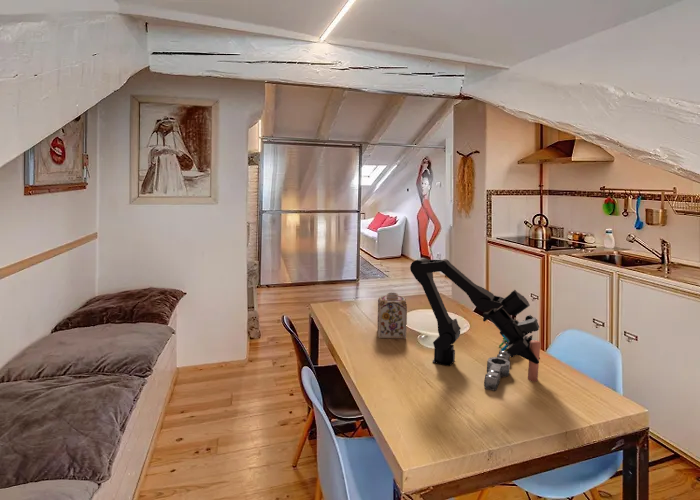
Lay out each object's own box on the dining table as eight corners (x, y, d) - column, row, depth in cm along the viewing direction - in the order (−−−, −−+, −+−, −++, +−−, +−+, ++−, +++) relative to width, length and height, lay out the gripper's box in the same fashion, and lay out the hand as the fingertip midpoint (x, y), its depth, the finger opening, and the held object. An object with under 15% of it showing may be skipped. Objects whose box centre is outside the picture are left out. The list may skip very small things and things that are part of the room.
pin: (527, 380, 140) (529, 342, 138) (528, 376, 143) (530, 339, 141) (537, 382, 139) (539, 344, 137) (537, 378, 141) (540, 341, 140)
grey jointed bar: (478, 388, 134) (478, 375, 134) (494, 355, 160) (495, 345, 160) (501, 393, 131) (502, 380, 131) (514, 359, 157) (515, 348, 156)
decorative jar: (406, 339, 178) (407, 297, 175) (378, 338, 178) (379, 296, 175) (403, 329, 190) (404, 290, 187) (377, 329, 190) (377, 289, 187)
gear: (526, 352, 159) (507, 333, 160) (515, 363, 160) (496, 344, 160) (516, 345, 170) (498, 327, 171) (505, 355, 171) (487, 338, 171)
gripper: (520, 317, 131) (557, 358, 128) (527, 302, 147) (560, 338, 144) (493, 337, 136) (527, 377, 132) (502, 321, 152) (533, 356, 149)
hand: (538, 361), depth 139 cm, fingers closed on pin, 3 cm apart
